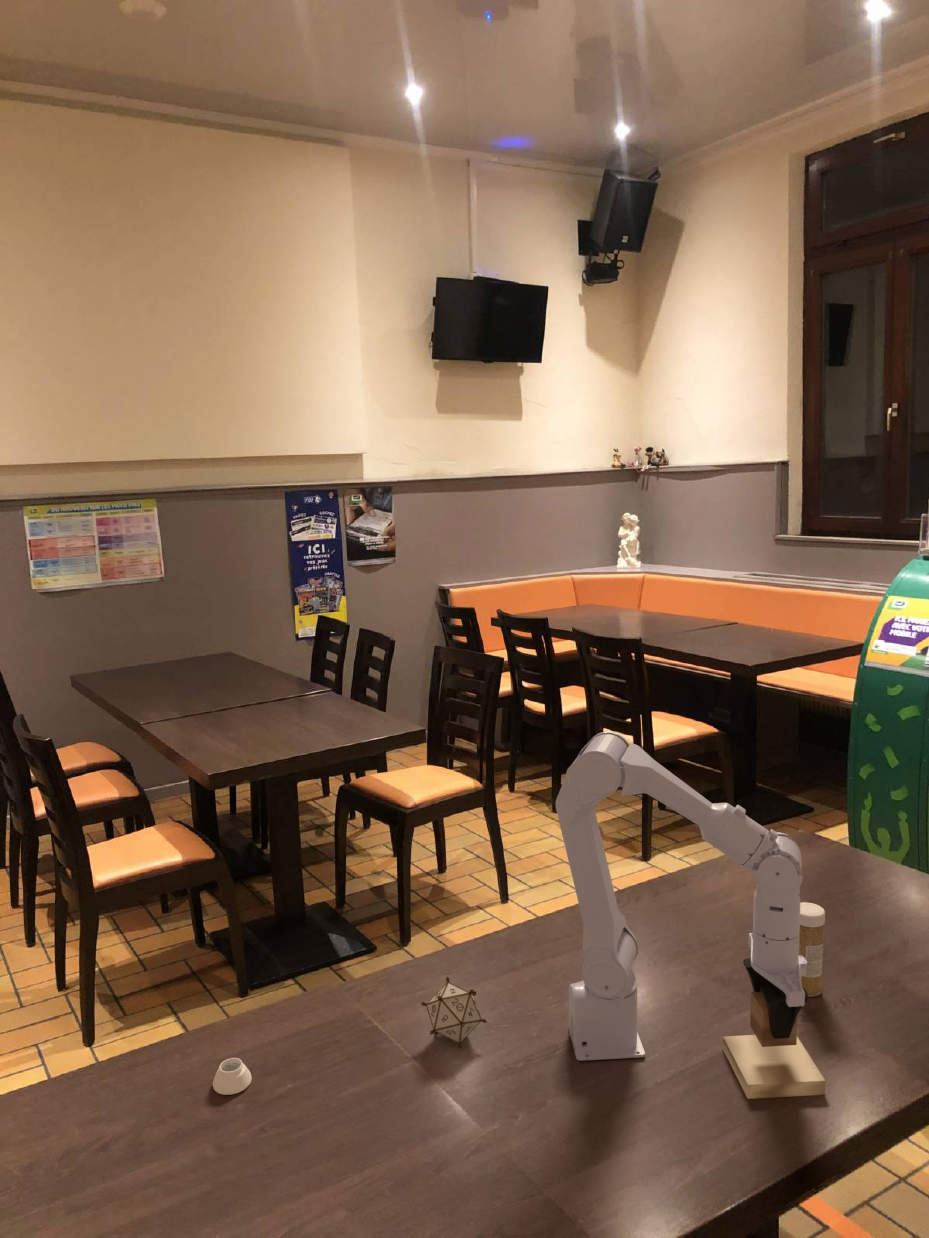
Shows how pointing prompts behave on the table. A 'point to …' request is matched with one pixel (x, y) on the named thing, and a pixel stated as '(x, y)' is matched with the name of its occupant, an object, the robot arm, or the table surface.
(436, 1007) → the game die
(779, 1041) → the walnut block
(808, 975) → the sprinkles bottle
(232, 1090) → the lidless jar
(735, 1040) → the birch base
